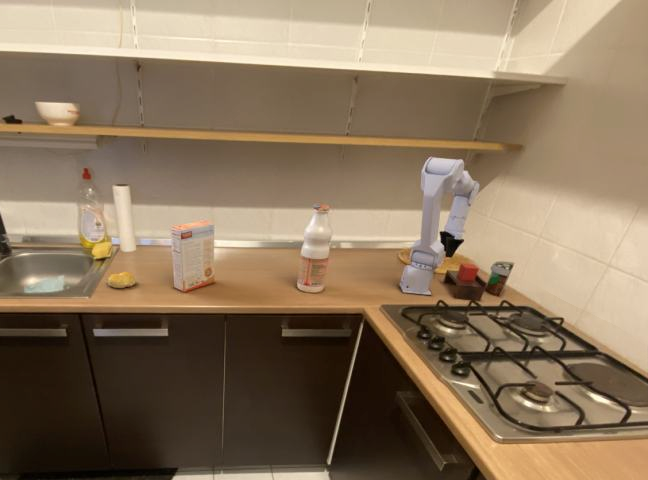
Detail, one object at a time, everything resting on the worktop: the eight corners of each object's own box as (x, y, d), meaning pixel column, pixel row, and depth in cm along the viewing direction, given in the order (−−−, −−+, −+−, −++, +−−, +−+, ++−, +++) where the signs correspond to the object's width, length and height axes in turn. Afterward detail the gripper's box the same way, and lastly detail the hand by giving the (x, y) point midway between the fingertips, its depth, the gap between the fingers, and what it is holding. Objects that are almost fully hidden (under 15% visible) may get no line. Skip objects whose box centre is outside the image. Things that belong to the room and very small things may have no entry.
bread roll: (105, 282, 133) (103, 271, 131) (130, 278, 137) (129, 268, 135) (112, 290, 127) (110, 279, 125) (138, 286, 131) (137, 275, 129)
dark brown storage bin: (455, 298, 133) (461, 280, 130) (442, 282, 146) (448, 266, 143) (480, 300, 132) (487, 283, 128) (465, 284, 145) (471, 268, 142)
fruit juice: (291, 288, 135) (301, 205, 121) (304, 281, 141) (314, 202, 127) (316, 295, 130) (329, 209, 116) (327, 287, 137) (341, 205, 123)
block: (460, 279, 135) (465, 267, 133) (456, 275, 139) (460, 263, 137) (474, 280, 134) (478, 268, 132) (470, 276, 138) (474, 264, 136)
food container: (485, 284, 147) (495, 258, 142) (504, 288, 143) (514, 262, 138) (479, 293, 138) (489, 266, 133) (498, 297, 135) (509, 270, 130)
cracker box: (203, 278, 140) (203, 219, 130) (214, 283, 136) (215, 223, 126) (172, 287, 131) (169, 225, 121) (183, 292, 128) (181, 229, 117)
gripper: (476, 221, 129) (463, 260, 136) (463, 213, 142) (451, 249, 148) (454, 220, 130) (442, 259, 137) (443, 212, 143) (432, 248, 149)
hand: (445, 254), depth 143 cm, fingers open, 7 cm apart
